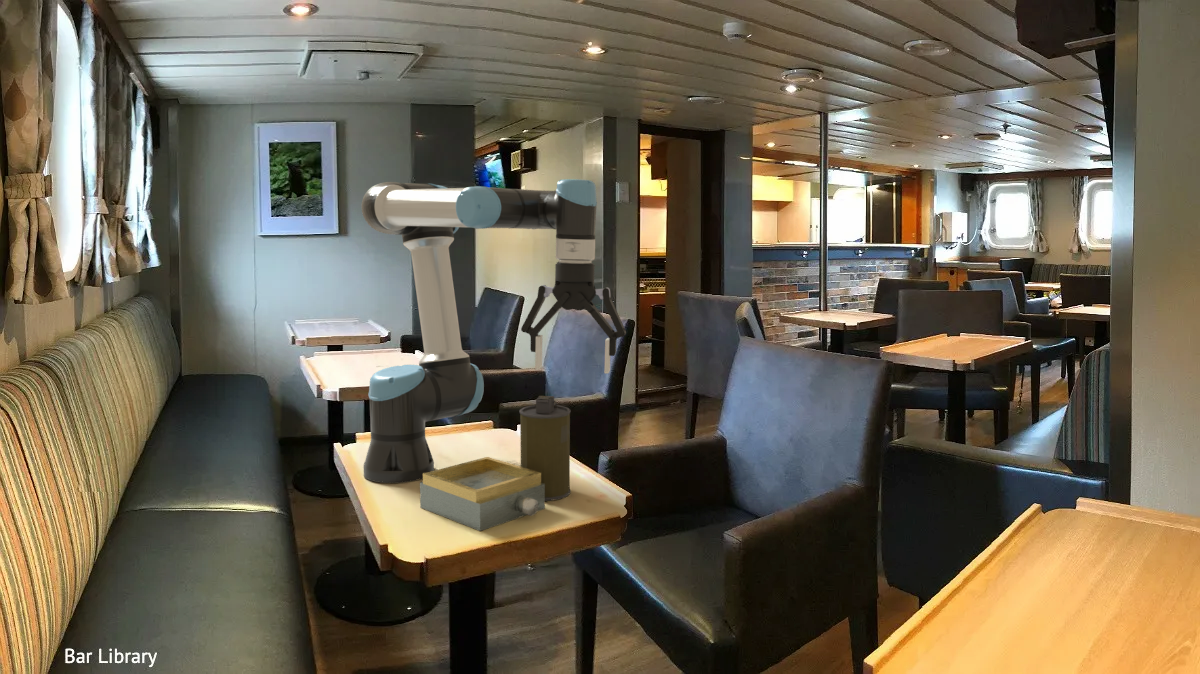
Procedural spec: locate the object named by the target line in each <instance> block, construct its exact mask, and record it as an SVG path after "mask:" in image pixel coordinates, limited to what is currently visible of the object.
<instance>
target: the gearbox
mask: <svg viewBox="0 0 1200 674" xmlns="http://www.w3.org/2000/svg"><path fill="white" fill-rule="evenodd" d="M419 494H420V495H419V501H420V502H419V503H420V505H419V506H420V508H421V509H423V510H426V511H428V512H431V513H434V514H435V515H438V516H440V517H444V518H446V519H447V520H452V521H453V522H455V523H459V524H461V525H462V526H463V525H464V526H466V527H469V528H472V529H474V530H477V531H479V532H482V531H485V530H488V529H490V528H493V527H496V526H499V525H502V524H505V523H508V522H510V521H513V520H517V519H519V518H522V517H525V516H531V517H532V516H534V515H536V514H537V512H540V511H542V510H545V509H546V508H545V507H546V506H545V505H546V503H545V484H544V483H541V472H537V471H534V470H530V469H527V468H524V467H521V465H516V464H514V463H510V462H508V461H507V462H506V461H503V460H500V459H496V458H493V457H489V456H484V457H481V458H478V459H474V460H470V461H466V462H462V463H459V464H455V465H450V466H446V467H444V468H443V467H442V468H439V469H436V470H435V469H434V471H431V472H427V473H423V479H422V482H419Z"/></svg>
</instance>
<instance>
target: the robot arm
mask: <svg viewBox="0 0 1200 674" xmlns="http://www.w3.org/2000/svg"><path fill="white" fill-rule="evenodd" d="M597 206H598V202H597V187H596V183H595V182H594V181H593V180H590V179H580V178H579V179H576V178H575V179H572V178H569V179H568V178H567V179H566V178H564V179H559V180H558V181H557V183H556V189H555V190H535V189H524V188H523V189H521V188H519V189H518V188H501V187H488V186H482V185H481V186H480V185H475V186H468V187H456V188H453V187H451V188H450V187H449V188H448V187H446V186H444V185H439V184H434V183H414V182H413V183H412V182H397V181H386V182H380V183H377V184H375V185H372V186H371V187H370V188H369V189H368V190H367V191H366V192H365V194H364V195H363V198H362V201H361V213H362V216H363V218H364V220H365V222H366V223H367V224H368V225H369V226H370V228H372V229H373V230H375V231H377V232H379V233H383V234H387V235H396V236H397V235H400V236H401V237H402V244H403V246H404V247H405V248H406V249H408V250H409V252H410V253H411V261H412V262H411V263H412V268H413V269H412V270H413V277H414V285H415V291H416V293H415V294H416V300H417V306H418V307H417V308H418V314H419V322H420V330H421V336H422V338H421V339H422V345H423V352H424V354H423V356H422V357H421V359H420V360H419V361H418V364H419V365H418V364H403V365H394V366H388V367H386V368H382V369H380V370H378V371H376V372H375V373H373V374H372V376H371V377H370V378H369V379H370V380H369V386H368V387H369V388H368V398H369V416H370V418H369V419H370V421H369V422H370V442H369V446H368V448H367V452H366V457H365V461H364V463H363V467H362V468H363V477H364V479H366V480H369V481H370V482H376V483H383V484H384V483H385V484H395V483H396V484H398V483H407V482H409V483H410V482H415V481H419V480H423V473H427V472H431V471H435V461H434V458H433V455H432V453H431V450H430V447H429V444H428V441H427V439H426V422H431V421H437V420H441V419H445V418H451V417H459V416H462V415H464V414H469V413H471V412H473V411H475V410H476V409H477V407H478V406H479V403H481V401H482V398H483V395H484V387H485V384H484V376H483V373H482V371H480V369H479V367H478V366H477V365H476V364H473V363H471V359H470V355H469V354H468V353H466V352H465V351H464V350H463V347H462V341H461V334H460V332H461V331H460V325H459V317H458V310H457V303H456V302H457V301H456V295H455V289H454V288H455V286H454V281H453V279H454V278H453V270H452V265H451V264H452V263H451V257H450V246H451V244H453V242H454V240H455V237H454V234H456V232H458V230H459V228H473V229H483V230H484V229H522V230H523V229H526V230H555V258H556V260H557V261H556V263H555V265H554V266H555V267H554V268H555V274H554V276H555V278H554V281H555V282H554V285H553V286H548V285H546V284H542V285H540V286H539V287H538V289H537V297H536V299H535V301H534V303H533V305H532V307H531V308H530V310H529V312H528V314H527V317H525V320H524V322H523V324H522V326H521V328H520V329H521V330H520V331H521V332H522V333H525V334H528V335H529V336H530V352H531V353H535V356H534V357H535V359H534V361H535V363H534V364H535V369H534V370H535V371H536V370H537V371H540V370H541V369H542V368H543V334H539V333H540V332H541V331H542V330H543V329H544V328H545V327H546V325H547V324H548V323H549V322H550V321H551V320H552V319H553V318H554V316H555V315H556V314H557V313H558V312H559V311H560V309H564V310H565V311H570V310H575V311H581V312H582V311H584V310H586V311H587V312H588V313H589V314H590V316H591V317H592V319H594V321H595V322H596V323H597V324H598V326H599V328H600V329H602V331H603V332H604V333H605V334H606V336H607V338H605V341H604V342H605V343H604V344H605V345H604V367H603V368H604V371H603V373H604V374H610V372H611V357H614V356H615V355H616V354H617V341H618V340H617V339H619V338H623V337H624V336H626V334H627V330H626V328H625V326H624V325H623V322H622V319H621V317H620V315H619V313H618V311H617V309H616V307H615V305H614V302H613V300H612V294H611V288H610V287H605V288H596V287H595V264H594V263H593V261H594V260H595V259H596V221H597V219H596V215H597ZM550 294H552V295H553V297H554V298H555V299H556V302H554V304H553V305H552V306H551V308H550V309H549V310H548V311H547V312H546V313H545V315H544V316H542V317H541V319H540V320H539V321H538V322H537V324H535V326H534V327H533V323H534V321H535V319H536V318H537V316H538V314H539V312H540V310H541V308H542V306H543V304H544V302H545V300H546V298H548V297H550ZM596 296H598V297H599V299H600V300H602V301H603V304H604V306H605V308H606V311H607V313H608V315H609V316H610V319H611V321H612V323H613V325H614V327H615V330H616V331H615V330H614V329H613V327H612V326H611V325H610V324H609V322H608V321H607V320H606V318H605V317H604V316H603V315H602V313H601V312H600V311H599V309H598V308H597V306H596V305H595V304H594V303H593V300H594V298H595V297H596Z"/></svg>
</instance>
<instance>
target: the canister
mask: <svg viewBox="0 0 1200 674" xmlns="http://www.w3.org/2000/svg"><path fill="white" fill-rule="evenodd" d="M519 414H520V415H519V416H520V418H519V419H520V421H519V422H520V430H519V431H520V467H524V468H527V469H530V470H534V471H537V472H541V483H544V484H545V501H546V502H547V501H549V502H550V501H551V502H552V501H555V500H562V499H564V498H566V497H568V496H569V495H570V494H571V488H570V487H571V486H570V485H571V484H570V483H571V481H570V477H571V475H570V472H571V470H570V469H571V468H570V467H571V466H570V464H571V461H570V460H571V459H570V456H571V454H570V453H571V452H570V449H571V444H570V443H571V439H570V438H571V437H570V435H571V433H570V430H571V426H570V425H571V418H570V417H571V409H570V408H569V407H568V406H564V405H560V404H559V405H558V402H557V401H555V396H554V395H553V396H552V395H539V396H537V398H536V399H535V404H534V405H528V406H523V407H522V408H520V409H519Z"/></svg>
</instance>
